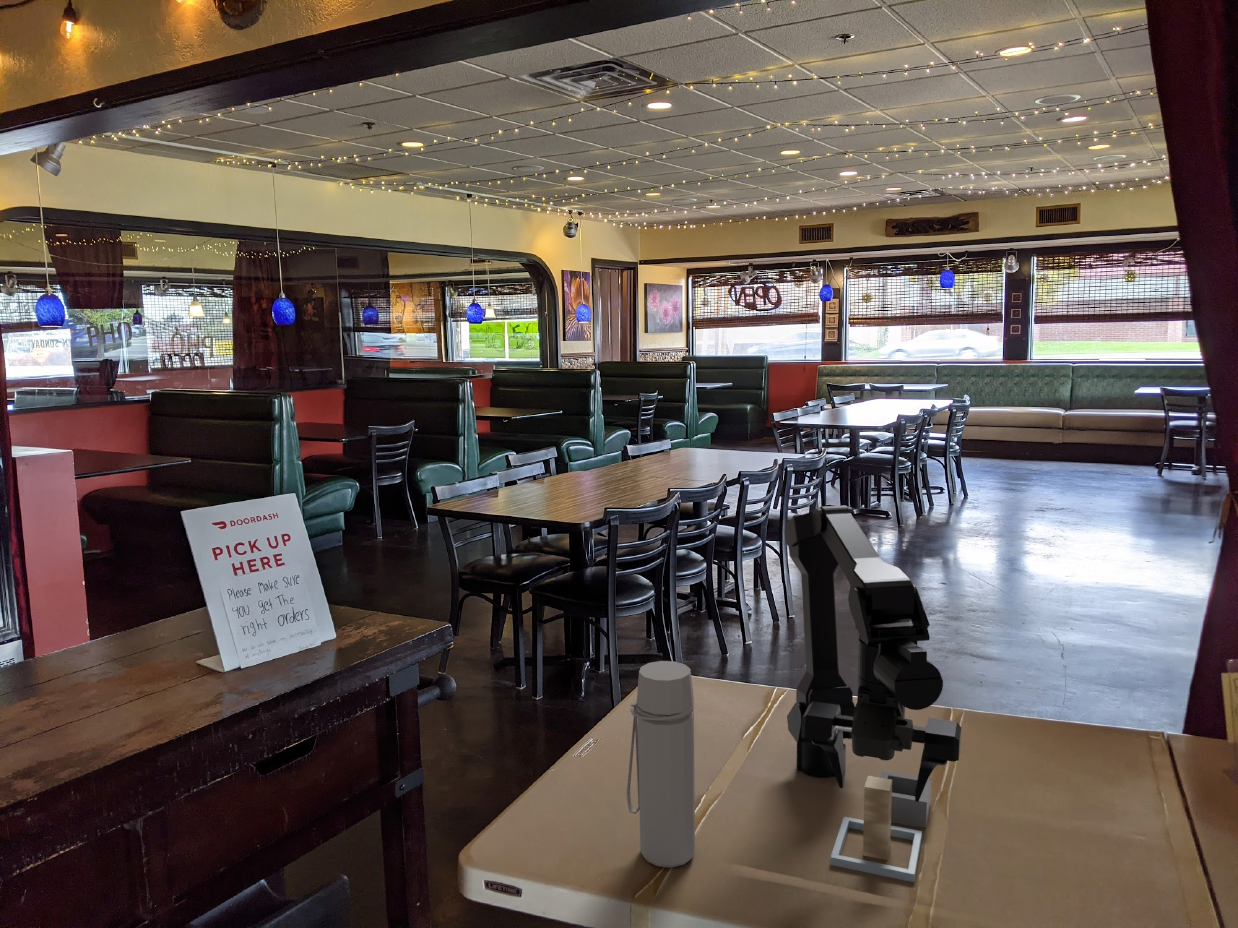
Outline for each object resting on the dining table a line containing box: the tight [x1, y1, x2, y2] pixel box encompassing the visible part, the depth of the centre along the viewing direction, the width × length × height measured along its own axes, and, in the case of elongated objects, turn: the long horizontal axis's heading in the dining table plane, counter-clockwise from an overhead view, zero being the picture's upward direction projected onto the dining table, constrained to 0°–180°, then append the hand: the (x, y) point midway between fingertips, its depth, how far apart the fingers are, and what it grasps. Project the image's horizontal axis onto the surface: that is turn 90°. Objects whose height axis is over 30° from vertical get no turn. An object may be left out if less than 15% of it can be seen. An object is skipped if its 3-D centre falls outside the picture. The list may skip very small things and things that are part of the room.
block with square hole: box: [879, 770, 932, 829], centre depth 127 cm, size 7×7×4 cm
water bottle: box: [626, 660, 696, 868], centre depth 118 cm, size 9×8×25 cm
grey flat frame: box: [829, 816, 923, 883], centre depth 118 cm, size 10×10×2 cm
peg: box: [862, 775, 892, 861], centre depth 117 cm, size 3×3×10 cm
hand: (878, 793), depth 116 cm, fingers open, 9 cm apart
